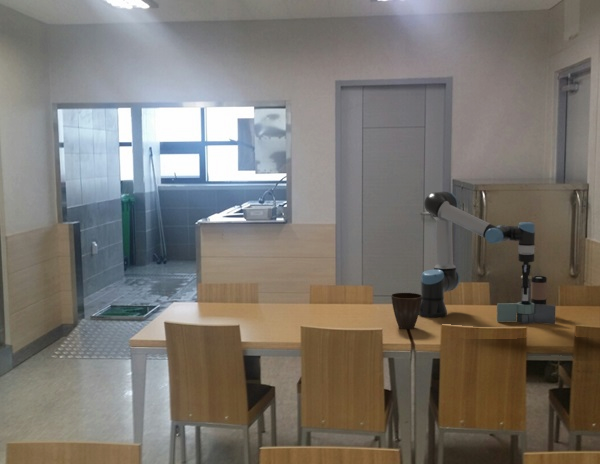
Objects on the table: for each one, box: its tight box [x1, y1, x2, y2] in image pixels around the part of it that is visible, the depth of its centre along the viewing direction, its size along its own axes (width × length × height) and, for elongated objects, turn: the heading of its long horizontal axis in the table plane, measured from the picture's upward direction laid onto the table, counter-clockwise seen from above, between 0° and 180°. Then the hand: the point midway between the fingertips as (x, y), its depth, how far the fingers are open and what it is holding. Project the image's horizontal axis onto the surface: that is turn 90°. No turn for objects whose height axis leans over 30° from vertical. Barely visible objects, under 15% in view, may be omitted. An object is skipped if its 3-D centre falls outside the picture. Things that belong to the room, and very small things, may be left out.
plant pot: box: [390, 292, 422, 330], centre depth 331 cm, size 15×15×16 cm
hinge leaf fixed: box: [516, 304, 557, 325], centre depth 337 cm, size 18×8×9 cm, turn 67°
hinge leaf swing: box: [496, 301, 535, 323], centre depth 339 cm, size 18×8×9 cm, turn 87°
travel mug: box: [530, 275, 548, 305], centre depth 354 cm, size 8×8×20 cm
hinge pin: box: [520, 275, 533, 305], centre depth 338 cm, size 5×5×16 cm
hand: (525, 299), depth 338 cm, fingers closed on hinge pin, 4 cm apart
